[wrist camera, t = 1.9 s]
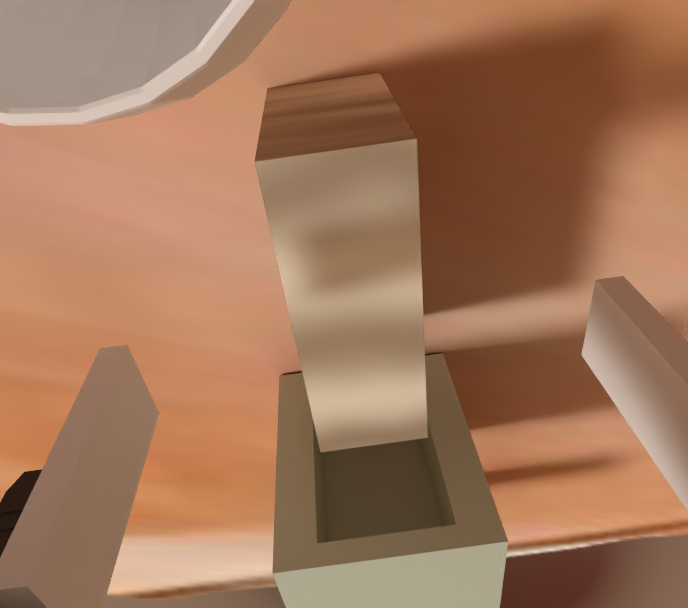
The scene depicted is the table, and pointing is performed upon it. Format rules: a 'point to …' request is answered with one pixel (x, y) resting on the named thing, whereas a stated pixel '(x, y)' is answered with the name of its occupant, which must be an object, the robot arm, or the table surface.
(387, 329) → the peg
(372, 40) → the table surface
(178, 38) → the cup
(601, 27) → the table surface
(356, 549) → the block
